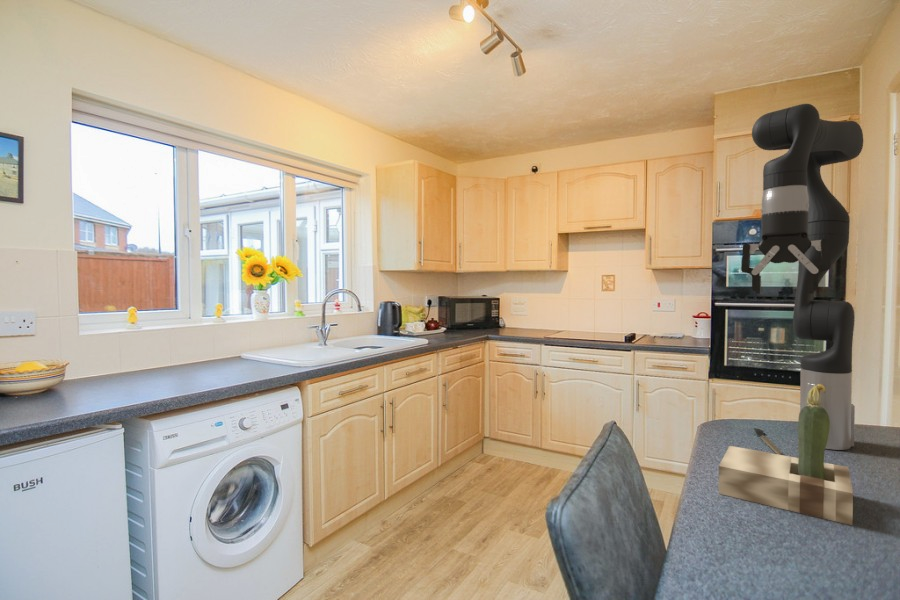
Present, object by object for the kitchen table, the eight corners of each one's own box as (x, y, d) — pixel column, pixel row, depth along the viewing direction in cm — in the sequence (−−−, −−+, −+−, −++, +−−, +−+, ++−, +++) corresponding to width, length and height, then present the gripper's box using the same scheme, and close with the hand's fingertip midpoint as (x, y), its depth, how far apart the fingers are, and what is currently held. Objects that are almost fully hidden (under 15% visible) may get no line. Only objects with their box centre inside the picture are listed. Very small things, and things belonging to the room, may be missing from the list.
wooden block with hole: (718, 493, 82) (718, 465, 82) (729, 470, 92) (729, 445, 92) (852, 525, 71) (852, 492, 71) (847, 494, 81) (848, 466, 81)
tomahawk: (811, 469, 95) (812, 464, 95) (773, 462, 98) (774, 457, 97) (780, 436, 115) (781, 432, 115) (749, 431, 117) (750, 427, 117)
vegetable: (790, 495, 81) (792, 381, 84) (813, 498, 81) (814, 384, 85) (812, 502, 77) (813, 382, 80) (836, 505, 77) (836, 385, 80)
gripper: (830, 209, 89) (829, 292, 90) (744, 217, 98) (743, 293, 99) (831, 205, 84) (830, 294, 84) (739, 213, 92) (739, 294, 93)
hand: (783, 293), depth 92 cm, fingers open, 8 cm apart
